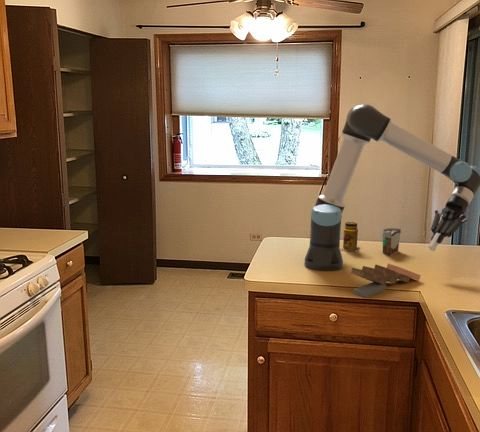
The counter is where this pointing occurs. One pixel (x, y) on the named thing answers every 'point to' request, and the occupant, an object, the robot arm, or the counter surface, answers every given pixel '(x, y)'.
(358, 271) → the domino
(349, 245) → the condiment
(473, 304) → the counter surface
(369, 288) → the domino
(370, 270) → the domino
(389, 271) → the domino
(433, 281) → the counter surface
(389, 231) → the food container
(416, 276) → the domino
